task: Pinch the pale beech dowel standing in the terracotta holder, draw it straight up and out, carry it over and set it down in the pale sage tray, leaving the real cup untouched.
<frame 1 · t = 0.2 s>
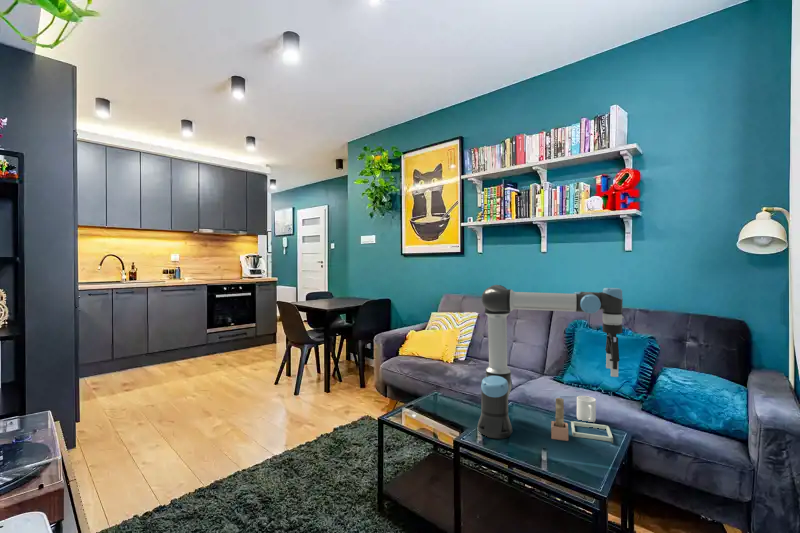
hand: (611, 372, 173), 28 cm above the table, fingers open, 13 cm apart
holder: (559, 438, 171), on the table
tray: (590, 434, 174), on the table
pin: (559, 436, 170), point 1 cm above the table, touching holder
cup: (587, 421, 189), on the table
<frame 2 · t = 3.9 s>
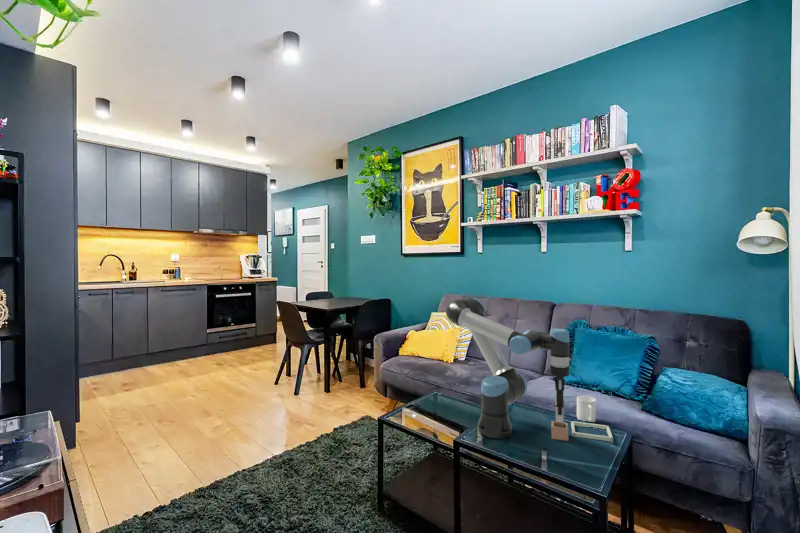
hand: (559, 420, 170), 8 cm above the table, fingers closed on pin, 3 cm apart
pin: (559, 436, 171), point 1 cm above the table, touching gripper, holder
everything else where it was.
when the fingers open (9 cm above the table, at t = 10.5 s): pin drops 2 cm, resting on tray.
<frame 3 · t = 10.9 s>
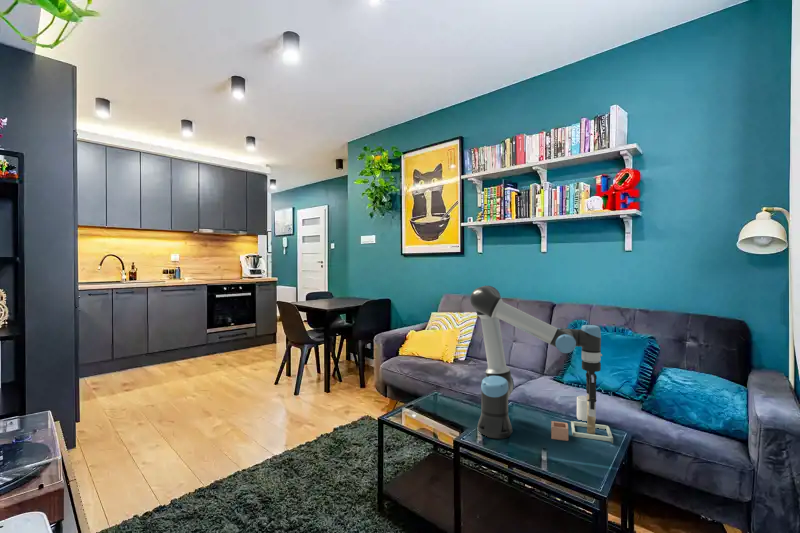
hand: (591, 412, 174), 10 cm above the table, fingers open, 8 cm apart
pin: (591, 432, 174), point 1 cm above the table, touching tray
everything else where it was.
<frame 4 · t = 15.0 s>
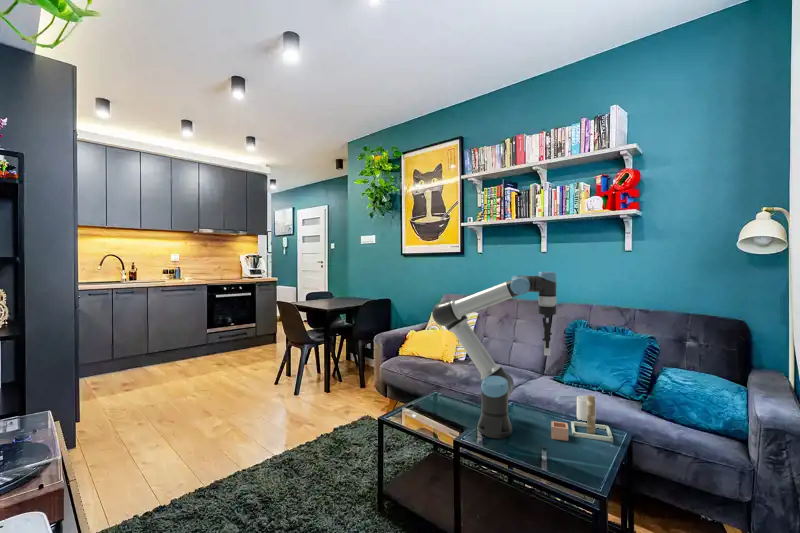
hand: (547, 352, 181), 35 cm above the table, fingers open, 13 cm apart
nothing on the table moved.
at the end: pin inside the target area on the tray (0.0 cm from its centre), point 0.8 cm above the tray's base; pin touching tray; the gripper is holding nothing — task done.
